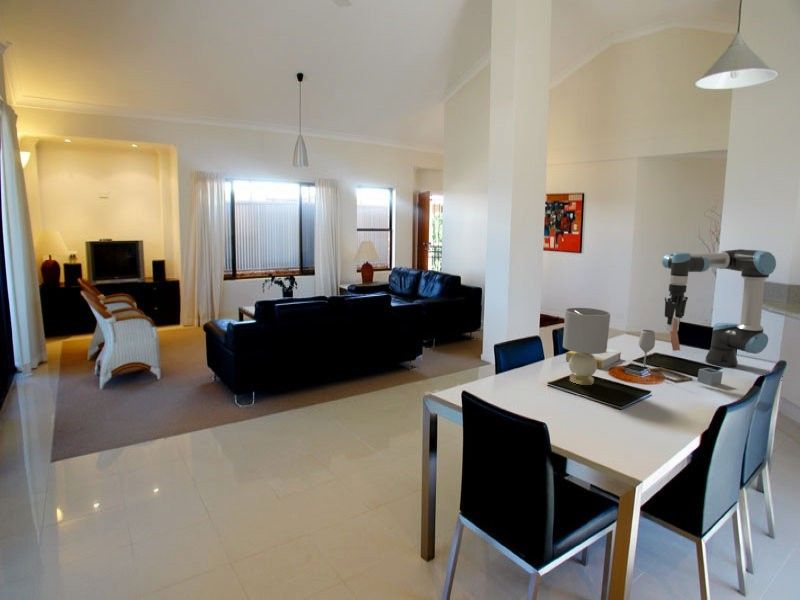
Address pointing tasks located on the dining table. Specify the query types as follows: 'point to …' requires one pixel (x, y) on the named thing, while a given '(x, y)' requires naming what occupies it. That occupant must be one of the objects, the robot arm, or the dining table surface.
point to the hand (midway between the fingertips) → (672, 330)
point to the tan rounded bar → (674, 337)
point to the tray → (658, 370)
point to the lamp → (585, 341)
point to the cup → (709, 376)
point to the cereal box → (601, 357)
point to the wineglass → (647, 342)
